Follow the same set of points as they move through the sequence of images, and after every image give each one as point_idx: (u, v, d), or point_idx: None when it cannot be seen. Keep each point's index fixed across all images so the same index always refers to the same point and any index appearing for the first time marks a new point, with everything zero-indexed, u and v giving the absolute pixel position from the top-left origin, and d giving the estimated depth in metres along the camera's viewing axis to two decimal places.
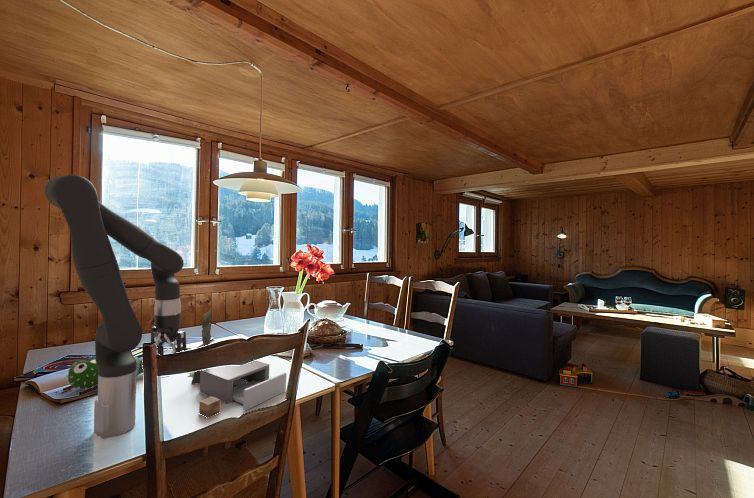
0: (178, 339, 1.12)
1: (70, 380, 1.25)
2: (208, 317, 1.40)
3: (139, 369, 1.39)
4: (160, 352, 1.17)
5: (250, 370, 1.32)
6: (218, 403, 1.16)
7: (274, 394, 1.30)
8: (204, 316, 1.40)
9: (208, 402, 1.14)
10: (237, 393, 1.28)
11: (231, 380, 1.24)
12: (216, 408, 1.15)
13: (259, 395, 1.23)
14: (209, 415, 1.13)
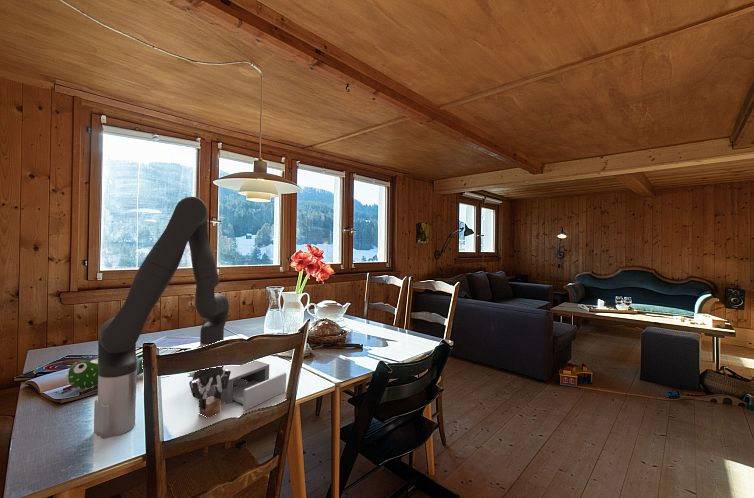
0: (228, 377, 1.20)
1: (70, 380, 1.25)
2: None
3: (139, 369, 1.39)
4: None
5: (250, 370, 1.32)
6: (218, 403, 1.16)
7: (274, 394, 1.30)
8: None
9: (208, 401, 1.14)
10: (237, 393, 1.28)
11: (231, 380, 1.24)
12: (216, 408, 1.15)
13: (259, 395, 1.23)
14: (209, 415, 1.13)
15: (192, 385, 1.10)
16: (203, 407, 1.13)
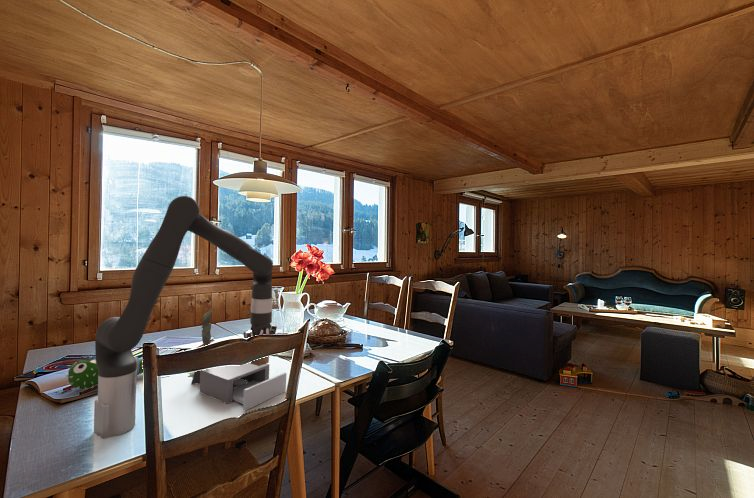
0: (274, 331, 1.32)
1: (70, 380, 1.25)
2: (208, 317, 1.40)
3: (139, 369, 1.39)
4: None
5: (250, 370, 1.32)
6: None
7: (274, 394, 1.30)
8: (204, 316, 1.40)
9: None
10: (237, 393, 1.28)
11: (231, 380, 1.24)
12: (266, 358, 1.28)
13: (259, 395, 1.23)
14: (260, 363, 1.26)
15: (246, 335, 1.22)
16: None
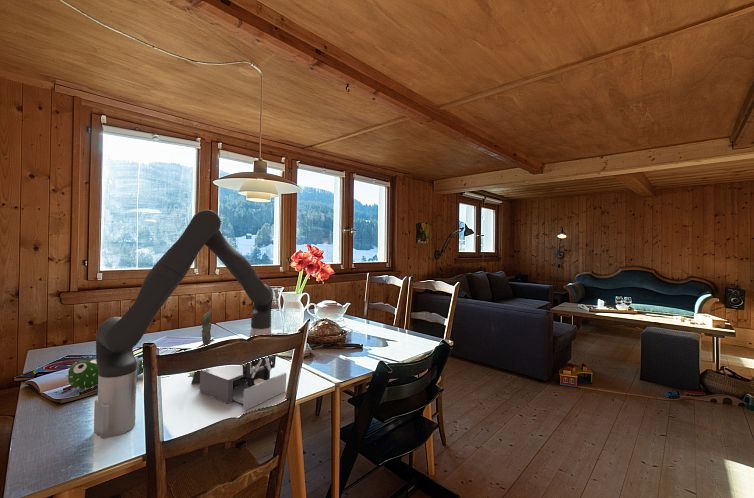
0: (274, 358, 1.33)
1: (70, 380, 1.25)
2: (208, 317, 1.40)
3: (139, 369, 1.39)
4: None
5: None
6: None
7: (274, 394, 1.30)
8: (204, 316, 1.40)
9: (257, 383, 1.27)
10: (237, 393, 1.28)
11: (231, 380, 1.24)
12: None
13: (259, 395, 1.23)
14: None
15: None
16: (251, 385, 1.25)
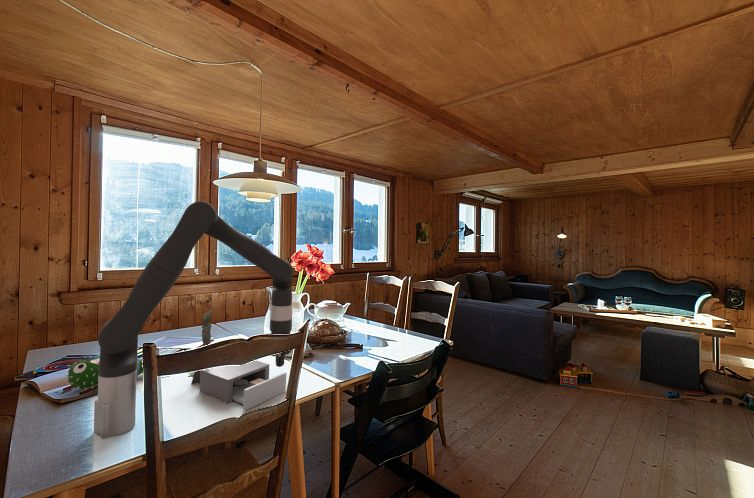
0: None
1: (70, 380, 1.25)
2: (208, 317, 1.40)
3: (139, 369, 1.38)
4: None
5: (250, 370, 1.32)
6: None
7: (274, 394, 1.30)
8: (204, 316, 1.40)
9: (257, 383, 1.27)
10: (237, 393, 1.28)
11: (231, 380, 1.24)
12: None
13: (259, 395, 1.23)
14: None
15: None
16: None
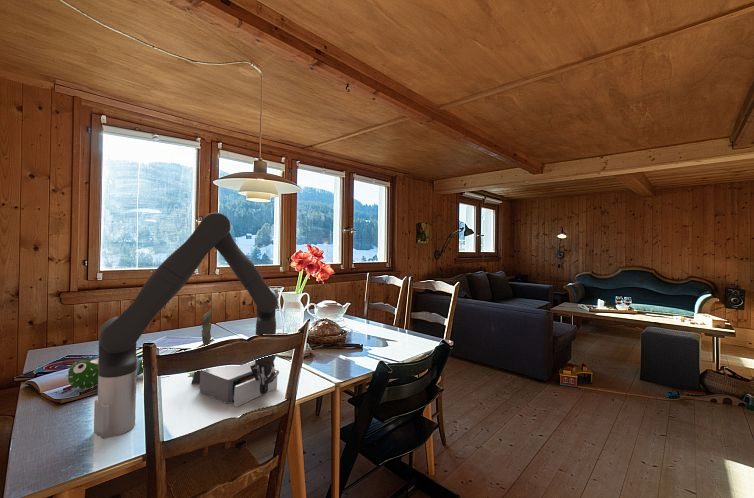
0: None
1: (70, 380, 1.25)
2: (208, 317, 1.40)
3: (139, 369, 1.38)
4: None
5: (250, 370, 1.32)
6: None
7: None
8: (204, 316, 1.40)
9: (248, 379, 1.29)
10: None
11: (231, 380, 1.24)
12: None
13: (250, 392, 1.26)
14: None
15: (276, 374, 1.24)
16: None
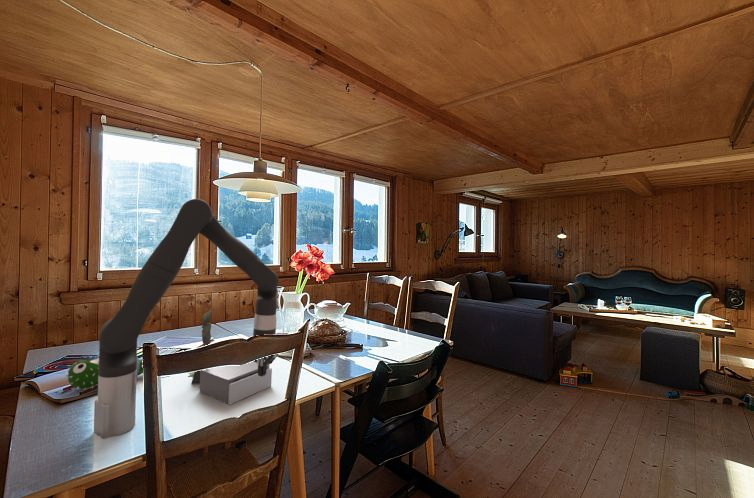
0: None
1: (70, 380, 1.25)
2: (208, 317, 1.40)
3: (139, 369, 1.38)
4: None
5: (250, 370, 1.32)
6: None
7: (259, 389, 1.34)
8: (204, 316, 1.40)
9: None
10: None
11: (231, 380, 1.24)
12: None
13: (244, 389, 1.27)
14: None
15: (276, 355, 1.20)
16: None
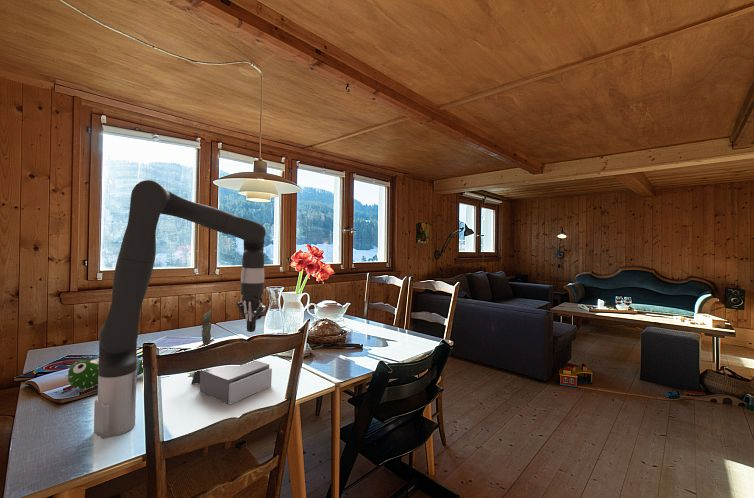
0: None
1: (70, 380, 1.25)
2: (208, 317, 1.40)
3: (139, 369, 1.38)
4: None
5: (250, 370, 1.32)
6: None
7: (259, 389, 1.34)
8: (204, 316, 1.40)
9: None
10: None
11: (231, 380, 1.24)
12: None
13: (244, 389, 1.27)
14: None
15: (264, 309, 1.16)
16: None
